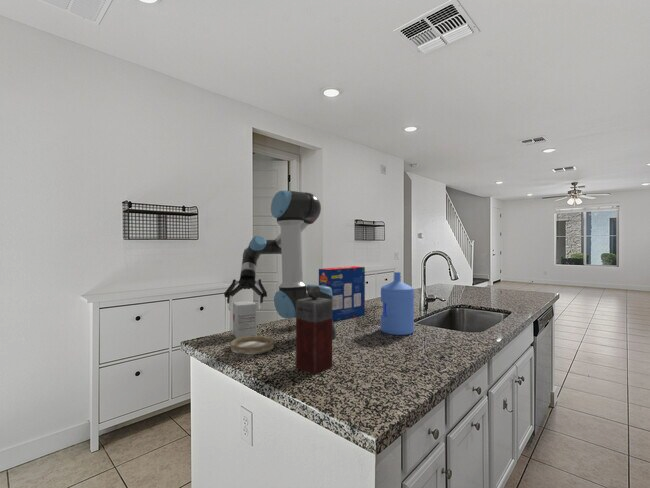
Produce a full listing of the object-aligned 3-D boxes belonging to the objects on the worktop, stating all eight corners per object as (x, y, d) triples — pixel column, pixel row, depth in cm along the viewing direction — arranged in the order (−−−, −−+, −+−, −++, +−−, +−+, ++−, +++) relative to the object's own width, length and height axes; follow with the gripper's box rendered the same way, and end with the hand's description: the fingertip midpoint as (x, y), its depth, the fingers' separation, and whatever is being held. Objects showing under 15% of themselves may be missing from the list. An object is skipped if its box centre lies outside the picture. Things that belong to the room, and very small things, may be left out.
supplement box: (232, 334, 160) (232, 302, 160) (251, 332, 164) (251, 300, 164) (236, 339, 152) (236, 305, 152) (257, 336, 156) (256, 303, 156)
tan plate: (278, 342, 148) (278, 336, 148) (265, 355, 131) (265, 349, 131) (241, 340, 151) (241, 334, 151) (223, 353, 134) (223, 346, 134)
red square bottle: (309, 359, 127) (309, 282, 126) (332, 367, 119) (332, 285, 119) (291, 366, 120) (291, 285, 120) (314, 374, 112) (314, 288, 112)
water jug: (418, 329, 168) (418, 272, 168) (407, 337, 155) (407, 274, 155) (388, 325, 177) (388, 270, 176) (375, 332, 163) (375, 273, 163)
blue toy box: (354, 313, 206) (354, 266, 206) (364, 315, 200) (364, 267, 200) (318, 320, 188) (318, 268, 188) (328, 323, 182) (328, 269, 182)
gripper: (273, 277, 181) (271, 312, 167) (224, 278, 179) (218, 313, 164) (272, 268, 176) (270, 303, 161) (222, 268, 174) (215, 304, 159)
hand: (244, 308), depth 163 cm, fingers open, 13 cm apart
